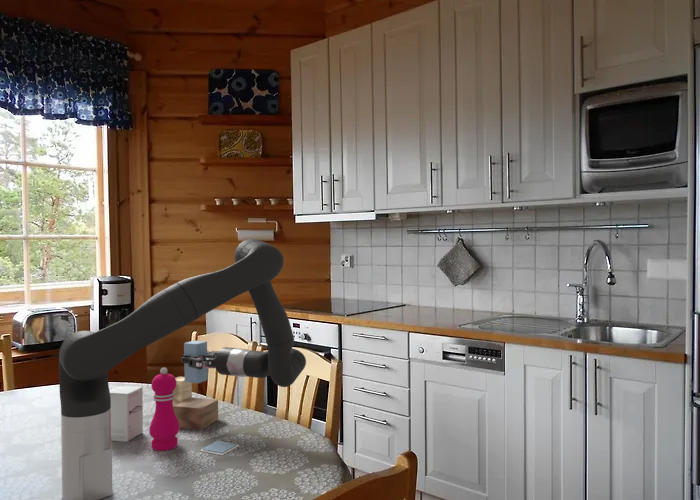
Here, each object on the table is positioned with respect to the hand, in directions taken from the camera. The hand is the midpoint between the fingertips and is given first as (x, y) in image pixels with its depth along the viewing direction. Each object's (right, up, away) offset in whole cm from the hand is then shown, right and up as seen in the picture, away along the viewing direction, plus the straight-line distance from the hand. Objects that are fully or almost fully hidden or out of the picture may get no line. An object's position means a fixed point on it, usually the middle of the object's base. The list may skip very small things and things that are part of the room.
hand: (188, 357), depth 162 cm
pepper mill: (0, -19, -19) cm, 27 cm away
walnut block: (+2, -19, -1) cm, 19 cm away
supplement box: (-14, -19, -12) cm, 26 cm away
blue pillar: (+3, -6, -1) cm, 7 cm away
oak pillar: (-4, -18, +6) cm, 20 cm away
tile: (+14, -19, -21) cm, 31 cm away
